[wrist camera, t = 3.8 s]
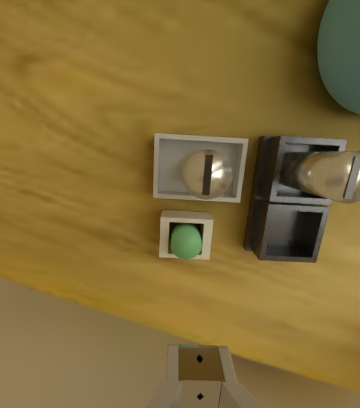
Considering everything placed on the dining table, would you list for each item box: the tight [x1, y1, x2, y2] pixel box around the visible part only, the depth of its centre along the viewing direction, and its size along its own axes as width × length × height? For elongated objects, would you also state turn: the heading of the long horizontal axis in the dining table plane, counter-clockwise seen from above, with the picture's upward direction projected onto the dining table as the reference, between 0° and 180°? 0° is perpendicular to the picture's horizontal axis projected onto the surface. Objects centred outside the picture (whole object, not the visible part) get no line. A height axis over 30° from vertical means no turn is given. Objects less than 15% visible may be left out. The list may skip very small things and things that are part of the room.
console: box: [159, 210, 213, 260], centre depth 24 cm, size 5×6×3 cm
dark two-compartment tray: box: [243, 136, 347, 263], centre depth 23 cm, size 14×8×4 cm, turn 177°
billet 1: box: [181, 149, 232, 200], centre depth 20 cm, size 4×4×8 cm
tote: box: [153, 133, 249, 203], centre depth 23 cm, size 7×10×2 cm
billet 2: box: [279, 151, 360, 203], centre depth 19 cm, size 4×4×8 cm
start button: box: [171, 223, 202, 259], centre depth 23 cm, size 3×3×3 cm
